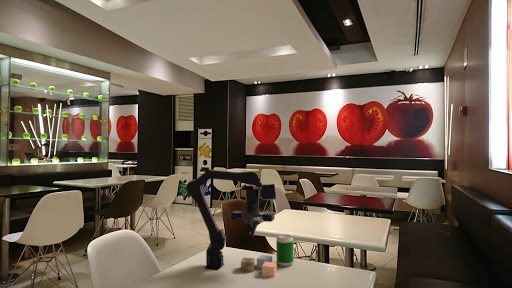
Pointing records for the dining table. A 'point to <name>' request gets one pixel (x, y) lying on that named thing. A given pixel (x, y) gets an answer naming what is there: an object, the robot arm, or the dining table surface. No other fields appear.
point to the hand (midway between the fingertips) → (252, 235)
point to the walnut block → (247, 265)
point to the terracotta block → (269, 269)
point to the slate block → (263, 260)
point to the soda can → (285, 250)
